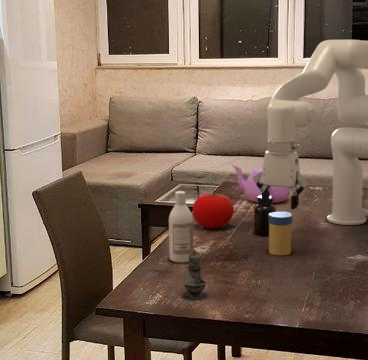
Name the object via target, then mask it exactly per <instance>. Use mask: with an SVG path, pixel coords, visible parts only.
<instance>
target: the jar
mask: <svg viewBox="0 0 368 360" xmlns="http://www.w3.org/2000/svg"><path fill="white" fill-rule="evenodd" d="M291 253H292V223H291V224H288V225H274V224H271V223H269V236H268V254H271V255H274V256H288V255H290V254H291Z"/></svg>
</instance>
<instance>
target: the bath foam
mask: <svg viewBox="0 0 368 360" xmlns="http://www.w3.org/2000/svg"><path fill="white" fill-rule="evenodd" d="M186 193H187V192H185V191H184V190H177V191H175V192H174V196H175V197H174V198H175V200H174V202H175V204H174V206H173V207H172V209H171V211H170V213H169V216H168V253H169V260H170V261H171V262H174V263H180V264H181V263H184V264H185V263H189V255H190V254H191V253H193V251H194V216H193V213H192V212H191V210H190V208H189V207H188V206H187V203H186V202H187V196H186Z"/></svg>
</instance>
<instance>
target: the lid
mask: <svg viewBox="0 0 368 360" xmlns="http://www.w3.org/2000/svg"><path fill="white" fill-rule="evenodd" d="M268 222H269V223H271V224H274V225H288V224H291V225H292V223H293V213H291V212H287V211H276V212H271V213H269V214H268Z"/></svg>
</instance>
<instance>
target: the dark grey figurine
mask: <svg viewBox="0 0 368 360" xmlns="http://www.w3.org/2000/svg"><path fill="white" fill-rule="evenodd" d="M186 268H187V269H188V276H187V278H186V279H183V281H182V284H183V285H184V288H185V290H186V291H187V292H185V293H184V294H183V295H184V297H185V298H186V299H190V300H201V299H203V298H205V297H206V293H205V292H203V291H204V290H205V288H206V284H207V279H204V278H202V272H201V271H202V270H201V269H203V266H201V255H200V253H198V252H196V250H195V249H194V248H193V253H191V254H190V255H189V262H188V265H187V267H186Z"/></svg>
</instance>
